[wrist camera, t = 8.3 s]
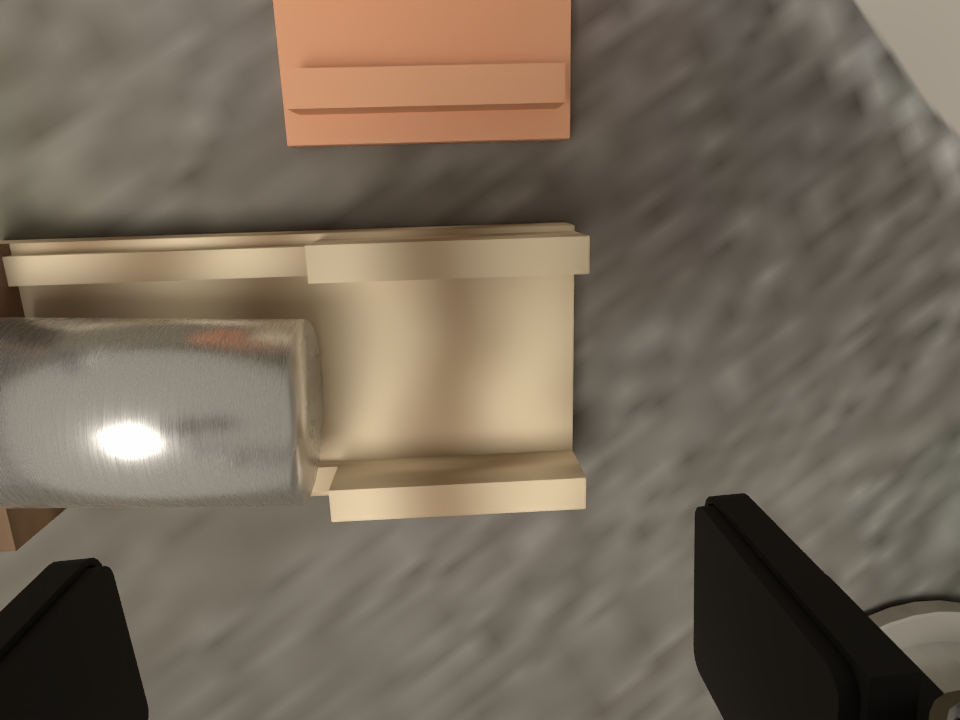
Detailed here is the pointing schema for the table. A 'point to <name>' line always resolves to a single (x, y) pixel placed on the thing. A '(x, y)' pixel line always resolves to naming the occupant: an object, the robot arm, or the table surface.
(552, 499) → the beige elongated piece
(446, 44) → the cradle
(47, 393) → the grey metal cylinder
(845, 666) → the robot arm
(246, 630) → the table surface
